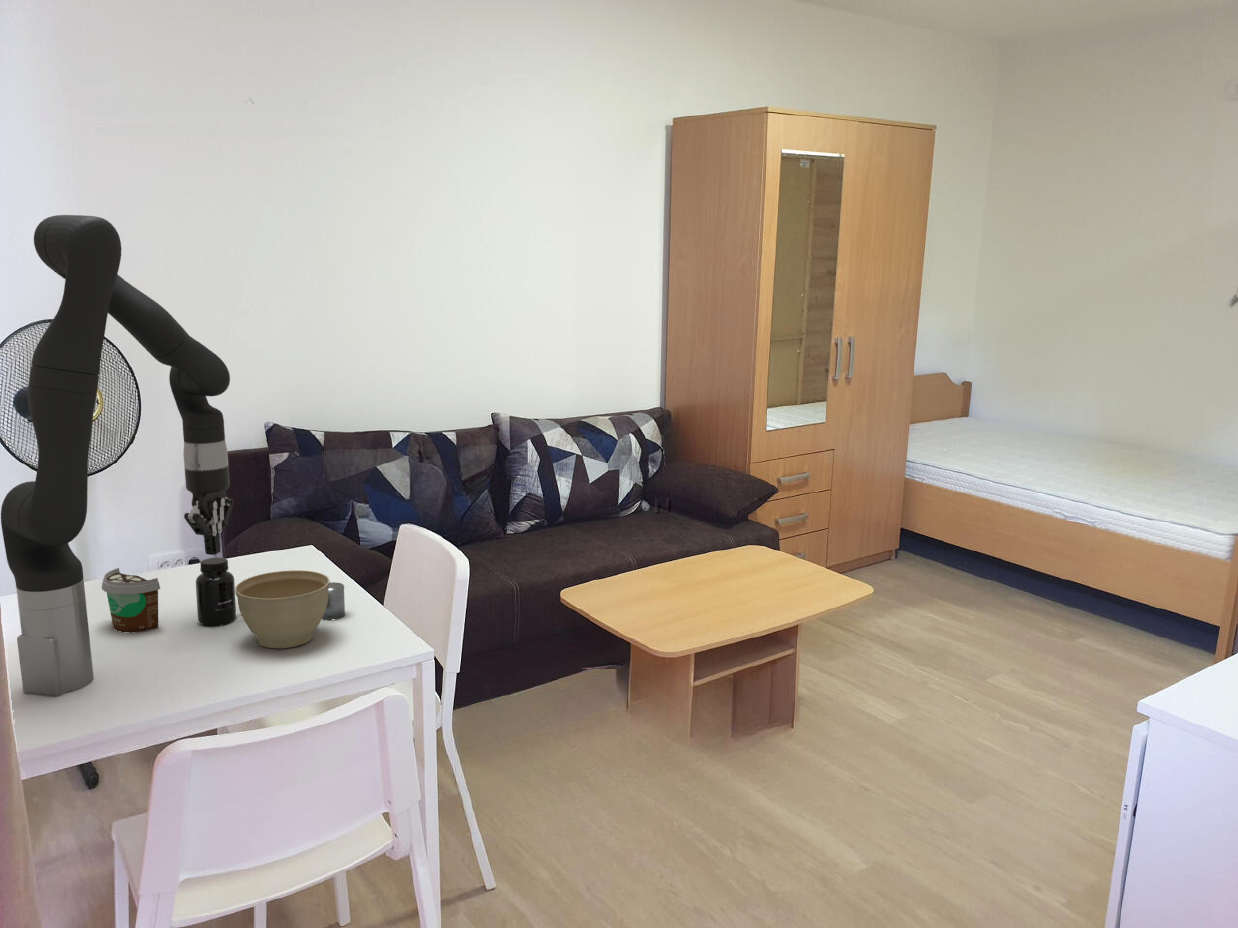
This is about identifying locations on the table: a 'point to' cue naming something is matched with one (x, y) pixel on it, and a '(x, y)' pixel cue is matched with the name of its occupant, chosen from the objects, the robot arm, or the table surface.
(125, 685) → the table surface
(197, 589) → the supplement bottle
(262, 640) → the planter bowl
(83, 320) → the robot arm
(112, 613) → the food container
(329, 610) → the dark grey metal cylinder
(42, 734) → the table surface
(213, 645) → the table surface
